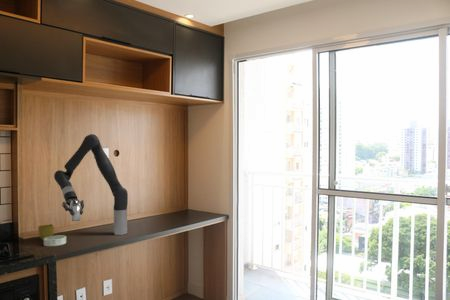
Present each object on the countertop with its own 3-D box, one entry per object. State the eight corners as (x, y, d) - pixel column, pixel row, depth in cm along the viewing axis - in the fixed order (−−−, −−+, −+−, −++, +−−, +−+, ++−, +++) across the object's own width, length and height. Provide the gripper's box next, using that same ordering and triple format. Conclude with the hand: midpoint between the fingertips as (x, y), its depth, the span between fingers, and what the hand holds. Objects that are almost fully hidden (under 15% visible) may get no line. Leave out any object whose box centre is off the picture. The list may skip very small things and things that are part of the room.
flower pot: (40, 241, 242) (40, 227, 242) (37, 239, 249) (37, 225, 249) (54, 239, 247) (54, 226, 247) (51, 237, 254) (51, 224, 254)
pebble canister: (72, 219, 241) (72, 204, 241) (81, 219, 242) (81, 204, 242) (71, 221, 235) (71, 205, 236) (79, 220, 236) (79, 205, 237)
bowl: (47, 242, 239) (47, 235, 239) (68, 240, 242) (68, 234, 242) (41, 246, 226) (41, 240, 226) (63, 245, 229) (63, 239, 229)
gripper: (60, 191, 239) (68, 211, 230) (81, 189, 249) (89, 209, 241) (56, 199, 242) (64, 219, 234) (78, 197, 253) (86, 216, 244)
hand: (77, 214), depth 237 cm, fingers closed on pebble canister, 5 cm apart
